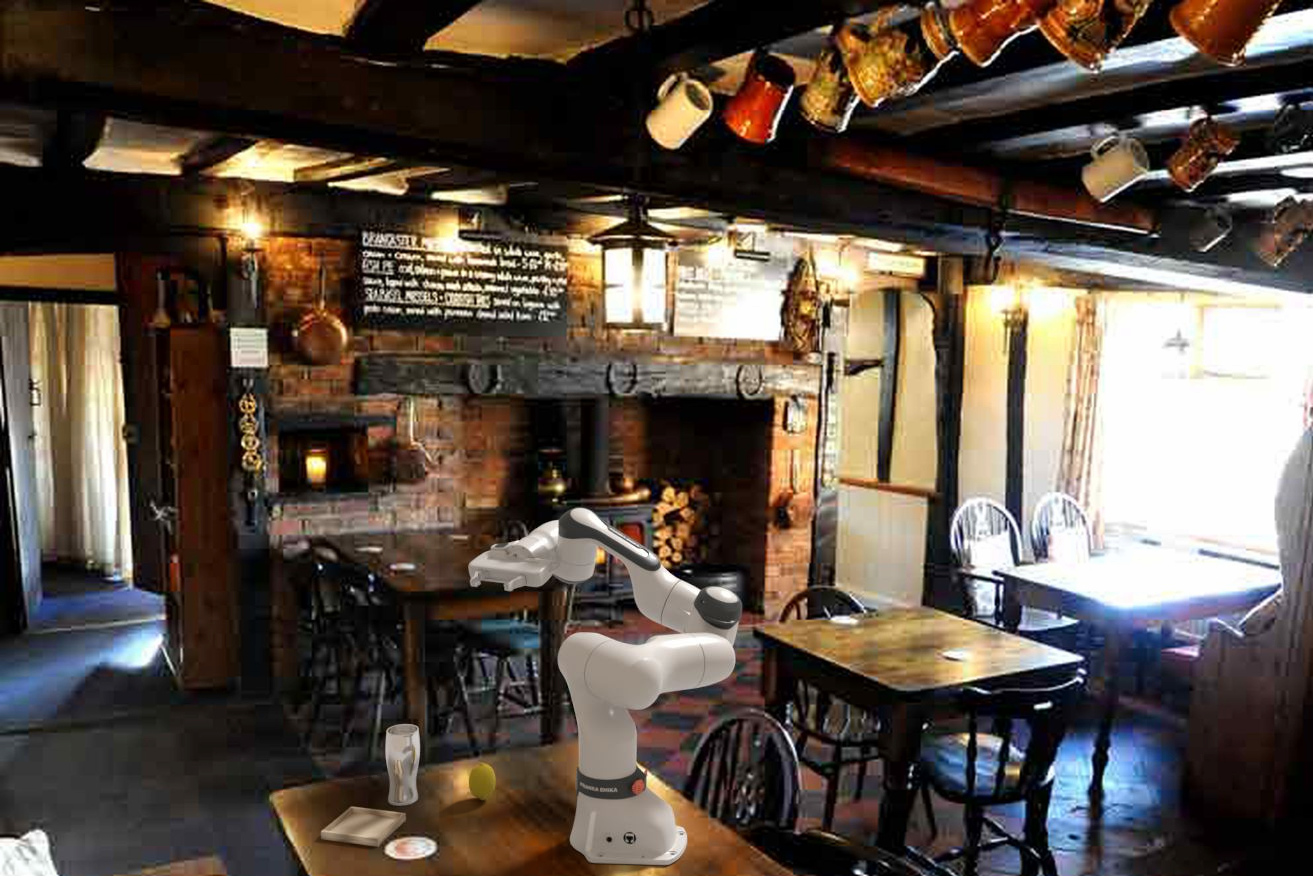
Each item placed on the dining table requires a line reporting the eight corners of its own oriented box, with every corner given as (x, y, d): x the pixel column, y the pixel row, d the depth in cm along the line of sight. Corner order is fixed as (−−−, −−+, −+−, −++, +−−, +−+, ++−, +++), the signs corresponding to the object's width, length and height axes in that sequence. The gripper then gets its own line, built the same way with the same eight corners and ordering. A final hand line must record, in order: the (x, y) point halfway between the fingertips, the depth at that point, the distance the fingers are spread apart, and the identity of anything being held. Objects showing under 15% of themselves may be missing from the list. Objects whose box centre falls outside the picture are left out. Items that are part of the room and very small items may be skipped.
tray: (405, 820, 196) (405, 813, 196) (377, 846, 186) (377, 839, 185) (351, 813, 199) (351, 806, 199) (320, 839, 188) (320, 831, 188)
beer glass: (411, 808, 202) (410, 737, 200) (379, 805, 203) (379, 734, 202) (425, 794, 208) (425, 725, 207) (395, 791, 210) (394, 722, 209)
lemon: (463, 802, 205) (463, 765, 204) (479, 792, 210) (479, 755, 209) (484, 808, 202) (484, 770, 202) (501, 797, 207) (500, 760, 206)
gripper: (564, 575, 225) (530, 603, 214) (493, 567, 235) (456, 593, 224) (560, 550, 223) (525, 577, 212) (488, 543, 233) (451, 568, 222)
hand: (489, 585), depth 218 cm, fingers open, 8 cm apart
